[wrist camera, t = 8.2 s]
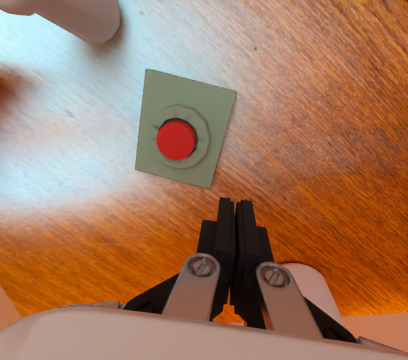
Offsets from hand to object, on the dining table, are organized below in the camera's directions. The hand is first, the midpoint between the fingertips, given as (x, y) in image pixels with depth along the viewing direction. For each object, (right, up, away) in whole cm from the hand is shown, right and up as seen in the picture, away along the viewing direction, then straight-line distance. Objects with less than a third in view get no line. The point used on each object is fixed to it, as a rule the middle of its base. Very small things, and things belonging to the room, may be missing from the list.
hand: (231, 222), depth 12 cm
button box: (-4, +8, +17) cm, 19 cm away
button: (-4, +7, +14) cm, 16 cm away
